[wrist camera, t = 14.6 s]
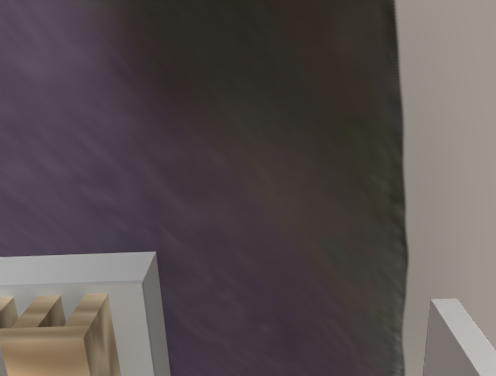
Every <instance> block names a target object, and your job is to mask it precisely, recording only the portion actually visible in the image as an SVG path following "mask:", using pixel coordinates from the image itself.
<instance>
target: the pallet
mask: <svg viewBox="0 0 496 376" xmlns="http://www.w3.org/2000/svg"><path fill="white" fill-rule="evenodd" d="M0 347H1V351H2V355H3V358H4V362H5V366H6V370H7V374H8V376H121V372H120V366H119V360H118V353H117V347H116V341H115V335H114V328H113V322H112V316H111V309H110V303H109V297H108V294H84V296H83V297H82V299H81V300H80V302H79V303H78V305H77V307H76V308H75V310H74V311H73V313H72V314H71V316H70V317H69V319H68V320H67V322H66V320H65V315H64V310H63V305H62V299H61V295H53V296H37V297H36V298H35V299H34V300H33V302H32V303H31V304H30V305H29V307H28V308H27V309H26V310H25V311H24V313H23V314H22V315H21V316H20V318H18V314H17V309H16V305H15V301H14V297H0Z"/></svg>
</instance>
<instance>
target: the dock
mask: <svg viewBox="0 0 496 376" xmlns="http://www.w3.org/2000/svg"><path fill="white" fill-rule="evenodd" d="M84 294H108V297H109V303H110V309H111V316H112V322H113V328H114V335H115V341H116V347H117V353H118V360H119V366H120V372H121V376H171V374H170V366H169V357H168V349H167V340H166V332H165V323H164V315H163V307H162V298H161V290H160V281H159V273H158V265H157V256H156V252H131V253H104V254H77V255H50V256H22V257H0V297H14V301H15V305H16V309H17V314H18V318H20V316H21V315H22V314H23V313H24V311H25V310H26V309H27V308H28V307H29V305H30V304H31V303H32V302H33V300H34V299H35V298H36V297H37V296H53V295H61V299H62V305H63V310H64V315H65V320H66V322H67V320H68V319H69V317H70V316H71V314H72V313H73V311H74V310H75V308H76V307H77V305H78V303H79V302H80V300H81V299H82V297H83V296H84Z"/></svg>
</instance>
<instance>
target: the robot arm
mask: <svg viewBox="0 0 496 376" xmlns="http://www.w3.org/2000/svg"><path fill="white" fill-rule="evenodd" d="M0 376H8V374H7V370H6V366H5V362H4V358H3V355H2V351H1V347H0ZM423 376H496V350H495V349H494V348H493V346H492V345H491V344H490V342H489V341H488V340H487V338H486V337H485V336H484V334H483V333H482V331H481V330H480V329H479V327H478V326H477V325H476V323H475V322H474V321H473V319H472V318H471V317H470V315H469V314H468V312H467V311H466V310H465V308H464V307H463V306H462V304H461V303H460V302H459V300H458V299H457V298H456V299H431V302H430V311H429V322H428V330H427V340H426V349H425V358H424V367H423Z"/></svg>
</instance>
